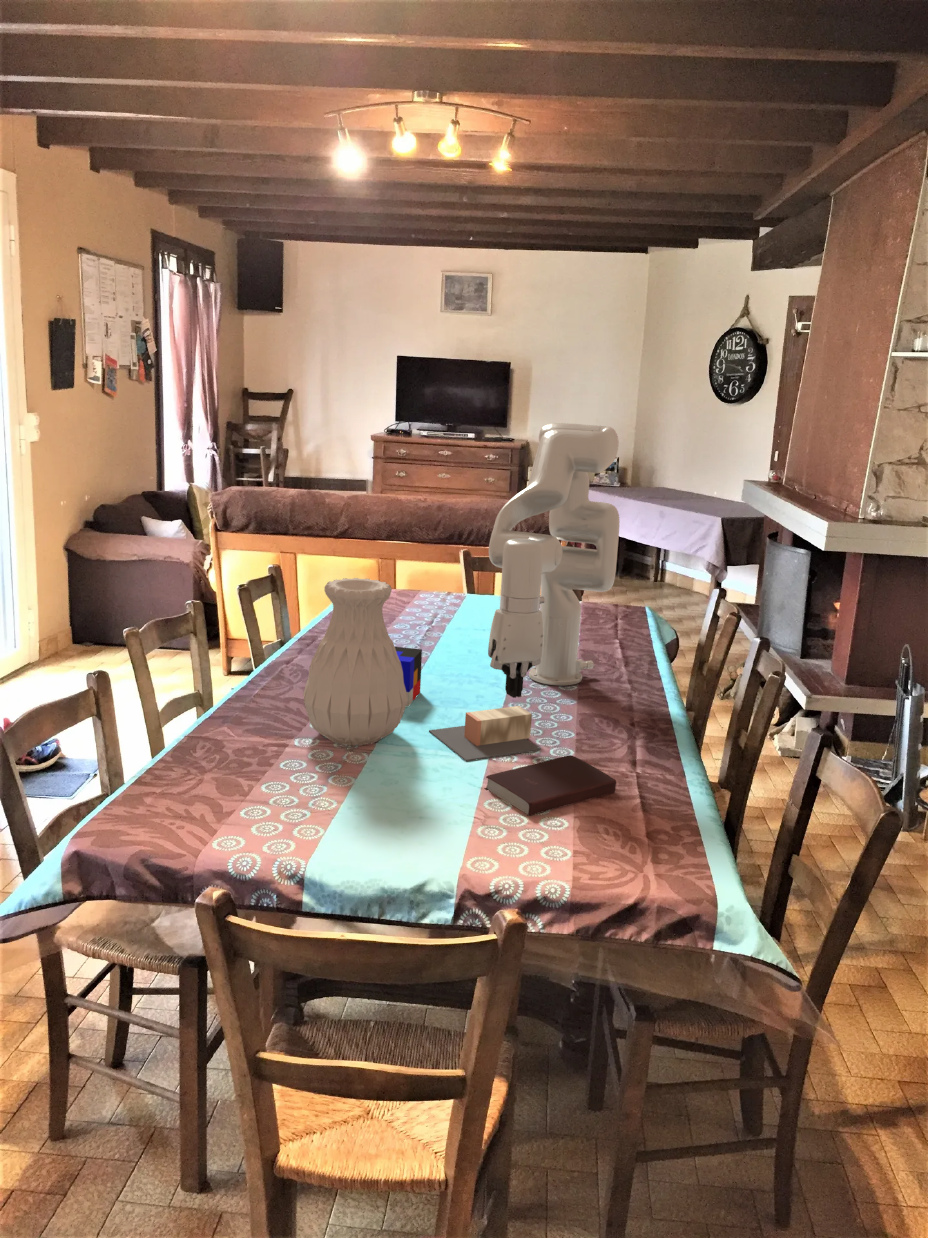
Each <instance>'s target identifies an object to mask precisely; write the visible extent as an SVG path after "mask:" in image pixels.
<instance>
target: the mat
mask: <svg viewBox="0 0 928 1238" xmlns="http://www.w3.org/2000/svg"><path fill="white" fill-rule="evenodd" d="M428 733H430V734H431V735H432V736H433V737H435V738H436V739H437V740H438V741H440V742H441V743H442V744H444V745H445V746H446V747H447V748H449V749H450V750H451V751H452V750H453V751H452V752H453V753H455V754H456V755H457V754H458V755H457V756H458V757H459V758H461V759H462V760H463V759H464V760H463V761H465V762H471V761H476V759H478V760H484V759H491V758H497V757H505V756H510V755H517V754H524V753H531V752H536V751H537V752H538V751H541V748H540V747H539V746H537V745H535V744H534V743H533V742H531V741H530V740H528V738H527V739H520V740H513V741H506V742H499V743H492V744H485V745H478V746H476V745H475V744H473V743H472V742H471V741H469V740H468V739H467V738H465V737H464V735H465V725H458V726H451V727H450V726H449V727H445V728H437V729H430V730H428Z"/></svg>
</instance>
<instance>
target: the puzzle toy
mask: <svg viewBox="0 0 928 1238" xmlns="http://www.w3.org/2000/svg"><path fill="white" fill-rule="evenodd" d="M395 649H396V652H397V655H398V657H399V660H400V662H401V666H402V670H403V680H404V685H405V688H406V693H407V697H408V701H407V704H406V707H408V706H409V705H410V706H411V705H412V703H413V702H414V701H415V700H416V699H417V697H418V696H417V695H418V694H419V695H420V693H421V683H422V682H421V681H422V680H421V679H422V658H423V649H421V648H413V647H403V646H402V647H401V646H395ZM416 696H417V697H416ZM413 700H414V701H413ZM412 701H413V702H412ZM410 706H409V707H410Z"/></svg>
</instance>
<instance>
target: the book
mask: <svg viewBox="0 0 928 1238" xmlns="http://www.w3.org/2000/svg"><path fill="white" fill-rule="evenodd" d="M485 779H487V785H486V787H484V790H486V791H487V790H489V791H488V792H491V793H492V794H493V795H495V796H496V797H498V798H500V799H502V800H504V801H505V802H506V803H509V804H510V805H512V806H513V807H515V808H516V809H518V810H519V811H522V812H523V813H525V814H526V815H527V816H533V815H535V814H536V815H537V814H540V813H543V812H548V811H552V810H555V809H559V808H562V807H563V808H564V807H565V806H570V805H573V804H576V803H581V802H584V801H588V800H592V799H595V798H600V797H604V796H607V795H612V794H614V793H615V791H616V787H617V781H616V779H615V778H613V777H612V776H610V775H608V774H607V773H605V772H604V771H602V770H601V769H599V768H597V767H595V766H593V765H591V764H590V763H588V762H586V761H584V760H582V759H581V758H578V757H576V756H574V755H571V754H570V755H569V754H568V755H565V756H561V757H556V758H552V759H549V760H545V761H541V762H536V763H534V764H533V763H532V764H529V765H524V766H521V767H520V766H519V767H518V768H514V769H508V770H503V771H500V772H496V773H493V774H489V775H487V776H485Z"/></svg>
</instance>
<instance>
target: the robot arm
mask: <svg viewBox="0 0 928 1238" xmlns="http://www.w3.org/2000/svg"><path fill="white" fill-rule="evenodd" d="M618 451H619V436H618V433H617V431H616V429H614V428H613V427H611V426H608V425H607V426H605V425H594V424H579V423H568V422H567V423H566V422H561V423H560V422H559V423H558V422H557V423H556V422H555V423H554V422H553V423H547V424H545V425H543V426H542V427H541V428H540V430H539V433H538V446H537V449H536V453H535V457H534V459H533V465H532V469H531V472H530V475H529V480H528V482H527V486H526V487H525V488H524V489H523V490H521V491H519V492H518V493H516V494H515V495H514V496H512V498H510V499H509V500H508V501H507V502H506V503H505V504H504V505H503V507H501V509H500V510H499V512H498V513H497V516H496V517H495V520H494V521H495V522H494V525H493V529H492V532H491V535H490V539H489V544H488V557H489V560H490V562H491V564H492V565H494V566H495V567H496V568H500V569H501V584H500V599H499V609H495V611H494V614H493V618H492V622H491V628H490V632H489V633H490V634H489V638H488V639H489V640H488V647H487V648H488V649H487V650H488V651H487V652H488V653H487V655H488V657H489V658H490V659H491V660H490V664H489V666H490V667H491V669H494V670H500V671H502V672H503V674H504V675H505V686H504V687H505V693H506V694H507V695H508V696H510V697H512V698H521V697H522V693H523V688H524V678H525V677H526V676H527V673H528V676H529V678H530V679H531V680H533V681H535V682H537V683H540V684H545V685H550V686H564V687H565V686H573V685H576V684H579V683H580V682H581V681H582V680H583V675H582V673H581V671H583V670H590V669H593V668H594V666H595V664H594V662H593V660H583V659H581V658H580V659H578V653H579V652H578V651H579V639H580V627H581V615H582V606H581V603H580V600H579V598H578V597H577V595H576V593H575V592H574V591H573V590H580V591H589V592H597V593H598V592H600V593H601V592H603V593H605V592H608V591H610V590H611V589H612V588H613V586H614V583H615V579H616V573H617V562H618V561H617V560H618V549H619V548H618V547H619V537H620V514H619V511H618V508H617V507H616V506H615V505H613V504H612V503H610V502H604V501H603V502H602V501H591V500H590V499H589V494H590V493H589V492H590V489H589V488H590V476H589V474H588V473H590V474H591V473H593V474H599V473H603V472H604V471H606V470H607V469H608V468H609V467H610V466H611V465H612V464H613V463H614V462H615V459H616V457H617V455H618ZM546 512H549V517H548V528H549V529H548V530H549V534H550V535H549V534H543V533H537V532H536V533H533V532H527V531H516V530H513V528H514V527H515V526H516V525H518V524H519V523H520V522H522V521H524V520H525V519H528V518H531V517H534V516H538V515H541V514H544V513H546ZM560 541H563V542H564V541H565V542H572V543H581V544H591V545H594V546H595V547H596V549H594V548H593V549H592V548H582V547H577V546H576V547H575V546H567V545H566V546H565V545H562V544H561V542H560Z"/></svg>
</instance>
